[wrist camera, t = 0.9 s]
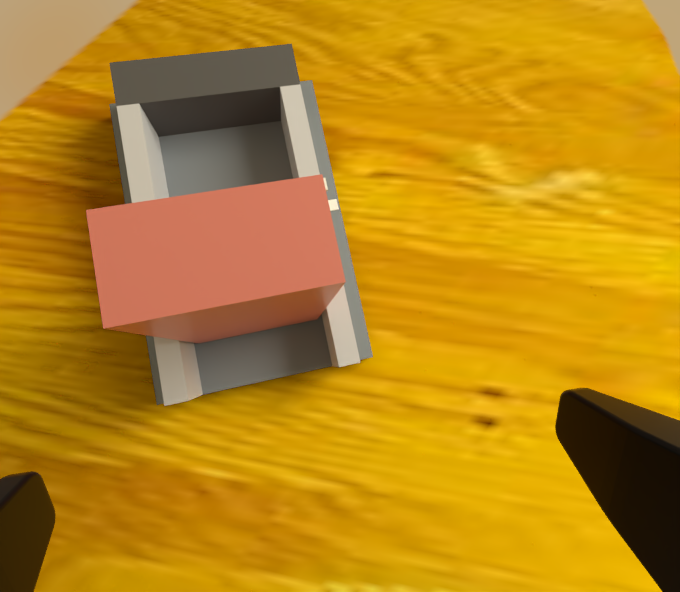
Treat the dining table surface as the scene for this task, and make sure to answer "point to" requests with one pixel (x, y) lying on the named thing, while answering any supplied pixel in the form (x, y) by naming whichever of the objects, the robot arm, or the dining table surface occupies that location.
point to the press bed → (228, 172)
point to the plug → (217, 261)
